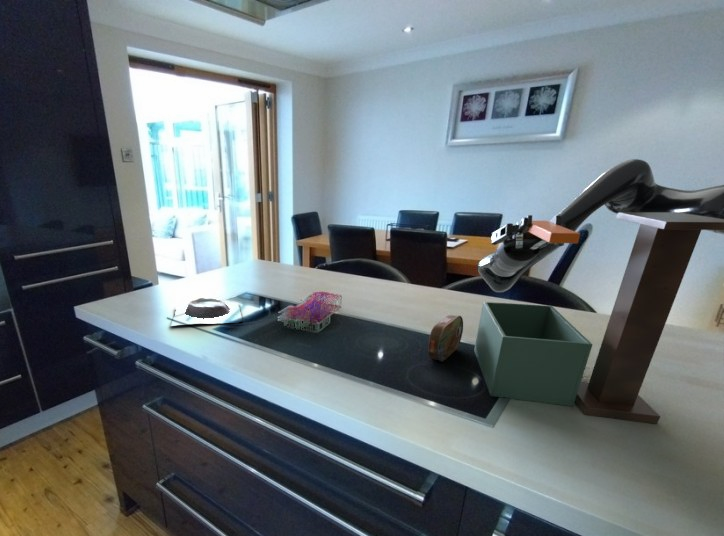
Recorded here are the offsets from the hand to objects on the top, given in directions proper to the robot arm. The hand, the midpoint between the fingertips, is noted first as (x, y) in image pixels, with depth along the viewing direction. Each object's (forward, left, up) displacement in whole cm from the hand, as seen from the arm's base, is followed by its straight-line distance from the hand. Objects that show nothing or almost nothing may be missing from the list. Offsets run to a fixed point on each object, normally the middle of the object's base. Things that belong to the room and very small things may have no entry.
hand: (544, 220), depth 73 cm
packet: (0, +4, -2) cm, 4 cm away
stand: (-13, +13, -30) cm, 35 cm away
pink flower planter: (+48, -22, -30) cm, 61 cm away
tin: (+13, -2, -30) cm, 33 cm away
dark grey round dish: (+80, -14, -30) cm, 87 cm away
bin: (0, +5, -30) cm, 31 cm away
